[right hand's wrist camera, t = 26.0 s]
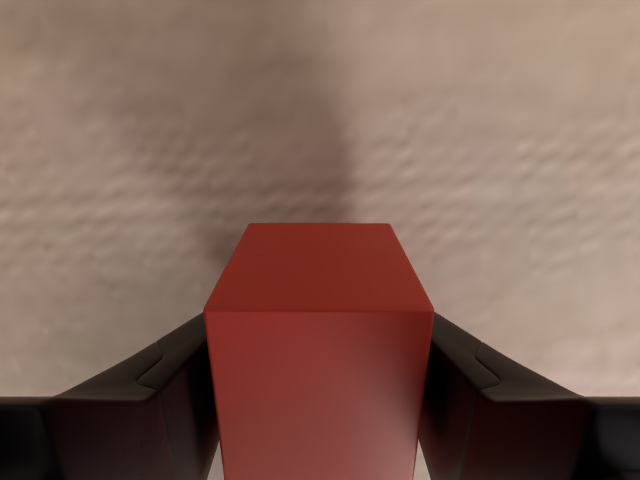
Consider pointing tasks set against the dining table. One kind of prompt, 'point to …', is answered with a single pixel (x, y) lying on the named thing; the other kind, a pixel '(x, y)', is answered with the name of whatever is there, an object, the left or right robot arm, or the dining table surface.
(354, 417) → the brick
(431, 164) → the dining table surface
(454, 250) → the dining table surface
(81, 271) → the dining table surface
